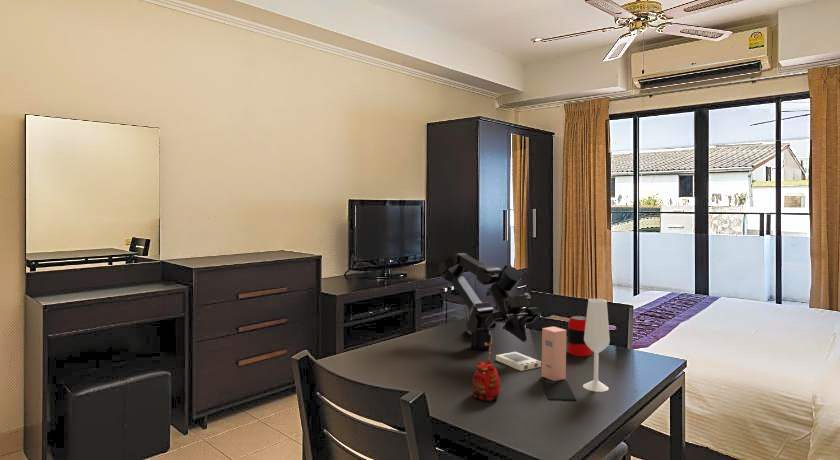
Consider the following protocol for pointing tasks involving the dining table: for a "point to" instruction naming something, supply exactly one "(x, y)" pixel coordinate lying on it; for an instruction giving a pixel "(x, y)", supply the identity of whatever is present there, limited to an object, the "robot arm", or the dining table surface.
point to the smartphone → (558, 390)
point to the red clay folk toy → (486, 380)
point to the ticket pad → (518, 361)
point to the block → (554, 353)
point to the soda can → (577, 337)
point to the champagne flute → (596, 337)
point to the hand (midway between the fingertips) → (525, 341)
